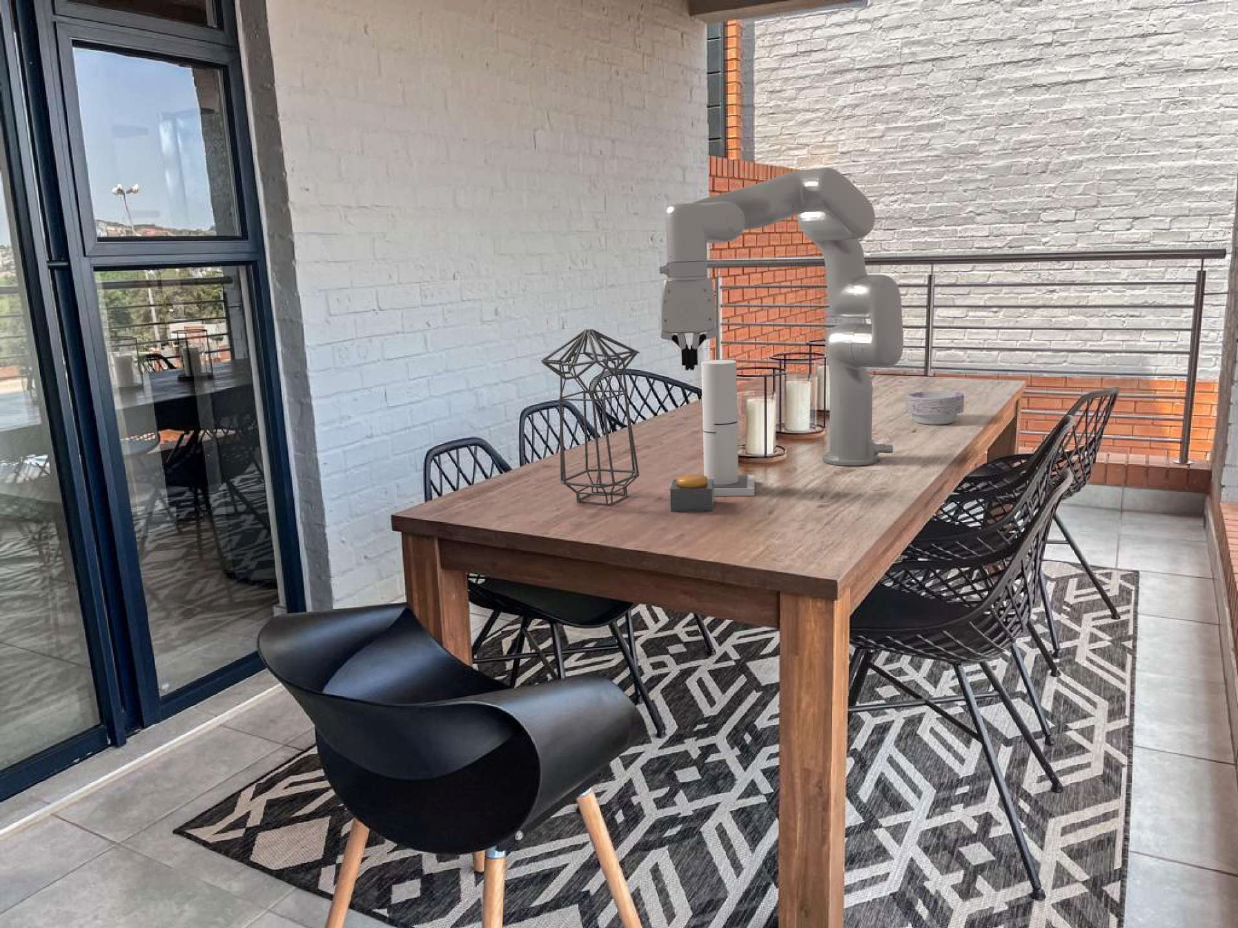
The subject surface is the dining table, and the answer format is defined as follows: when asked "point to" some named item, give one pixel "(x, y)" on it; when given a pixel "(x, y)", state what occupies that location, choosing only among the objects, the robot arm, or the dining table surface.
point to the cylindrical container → (720, 421)
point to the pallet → (737, 487)
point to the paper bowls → (934, 406)
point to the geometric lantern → (579, 344)
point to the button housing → (692, 498)
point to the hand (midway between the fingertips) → (689, 369)
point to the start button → (692, 481)
